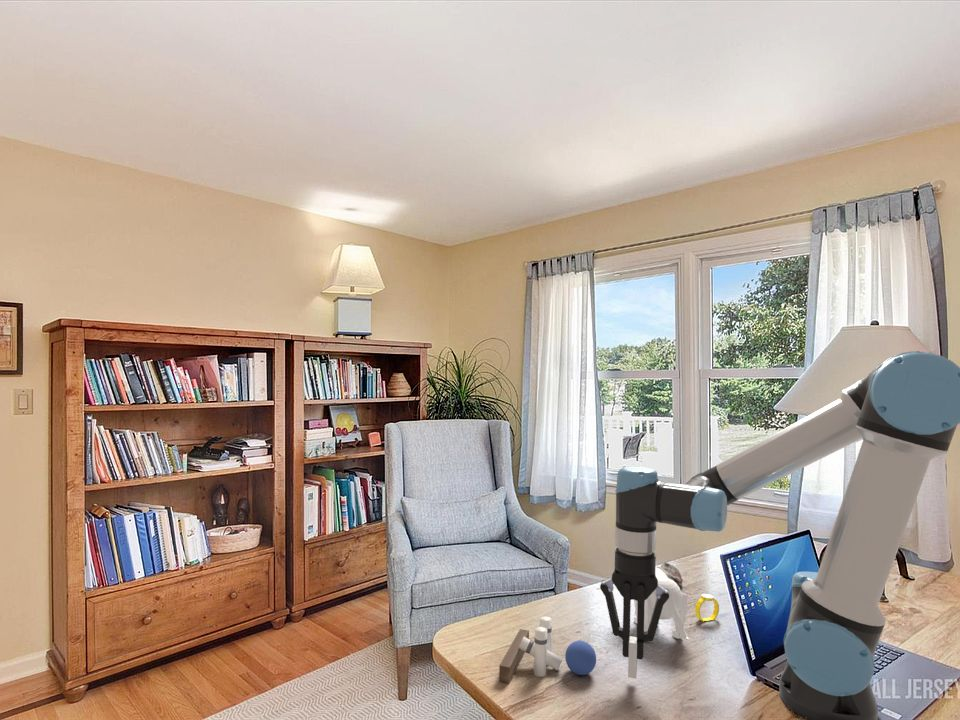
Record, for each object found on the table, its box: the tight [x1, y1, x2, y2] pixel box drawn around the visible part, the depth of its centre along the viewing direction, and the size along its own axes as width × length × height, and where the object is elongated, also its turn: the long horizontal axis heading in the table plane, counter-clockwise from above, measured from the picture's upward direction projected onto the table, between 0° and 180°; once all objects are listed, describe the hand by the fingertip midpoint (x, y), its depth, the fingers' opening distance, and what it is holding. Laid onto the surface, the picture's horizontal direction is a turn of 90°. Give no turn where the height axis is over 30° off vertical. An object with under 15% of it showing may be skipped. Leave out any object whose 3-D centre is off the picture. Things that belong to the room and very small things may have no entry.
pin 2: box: [533, 626, 547, 678], centre depth 111 cm, size 2×2×8 cm
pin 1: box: [538, 616, 553, 652], centre depth 115 cm, size 2×2×8 cm
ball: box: [564, 640, 597, 676], centre depth 111 cm, size 6×6×6 cm
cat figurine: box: [633, 562, 690, 641], centre depth 129 cm, size 25×10×17 cm, turn 15°
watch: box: [694, 593, 720, 623], centre depth 136 cm, size 6×3×6 cm, turn 108°
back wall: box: [498, 628, 530, 684], centre depth 115 cm, size 2×16×3 cm, turn 162°
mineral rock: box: [657, 562, 684, 589], centre depth 158 cm, size 15×8×4 cm, turn 140°
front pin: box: [519, 637, 563, 672], centre depth 113 cm, size 2×2×8 cm
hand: (632, 674), depth 108 cm, fingers closed
